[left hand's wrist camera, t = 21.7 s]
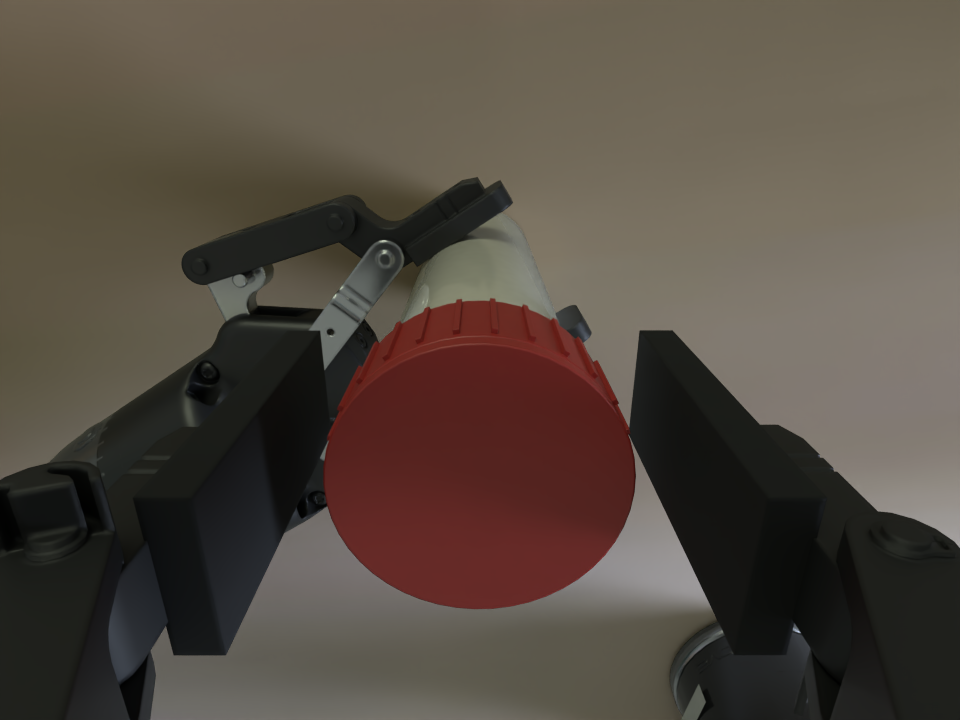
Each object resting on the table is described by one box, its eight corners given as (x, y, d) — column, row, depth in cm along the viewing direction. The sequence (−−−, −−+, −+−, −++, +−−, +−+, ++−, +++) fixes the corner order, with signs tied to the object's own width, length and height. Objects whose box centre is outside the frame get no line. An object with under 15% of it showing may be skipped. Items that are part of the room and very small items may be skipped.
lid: (432, 240, 11) (420, 271, 9) (665, 384, 12) (708, 444, 10) (303, 458, 13) (264, 531, 10) (517, 566, 14) (524, 653, 11)
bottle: (408, 261, 27) (302, 469, 11) (476, 185, 26) (472, 290, 10) (482, 326, 28) (485, 601, 12) (550, 256, 27) (658, 458, 11)
